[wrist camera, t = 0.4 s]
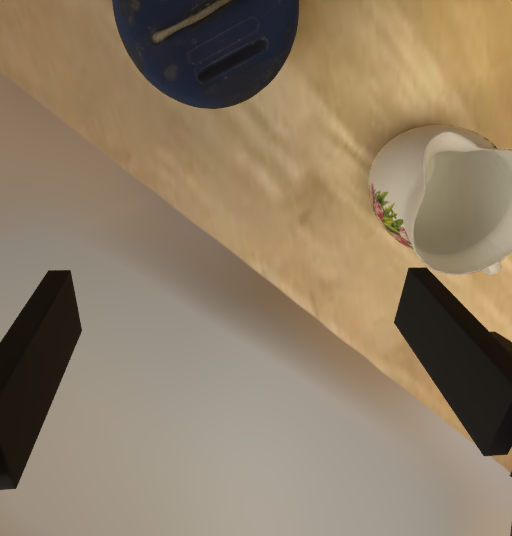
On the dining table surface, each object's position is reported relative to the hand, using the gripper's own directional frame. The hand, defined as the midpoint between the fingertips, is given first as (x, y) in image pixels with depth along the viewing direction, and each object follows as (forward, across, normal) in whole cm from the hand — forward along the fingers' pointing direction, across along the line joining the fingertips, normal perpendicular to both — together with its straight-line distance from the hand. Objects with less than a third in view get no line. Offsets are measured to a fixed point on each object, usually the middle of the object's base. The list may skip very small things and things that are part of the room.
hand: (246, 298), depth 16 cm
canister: (+27, -1, +10) cm, 29 cm away
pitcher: (+27, +20, -3) cm, 34 cm away
